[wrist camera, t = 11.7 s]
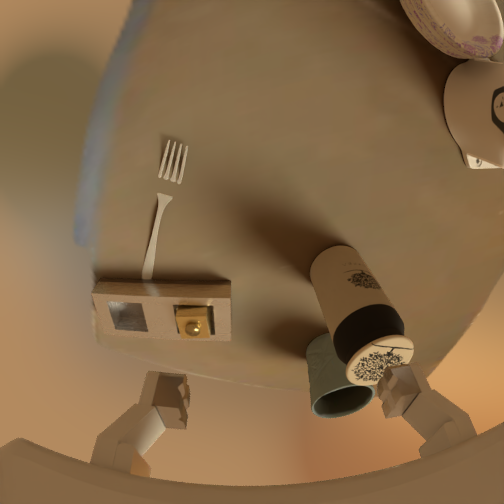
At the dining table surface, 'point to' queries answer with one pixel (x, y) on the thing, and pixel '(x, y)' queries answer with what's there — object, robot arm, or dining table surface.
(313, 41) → the dining table surface
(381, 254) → the dining table surface
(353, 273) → the travel mug
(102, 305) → the tan windowed box
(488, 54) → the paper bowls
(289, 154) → the dining table surface
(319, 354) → the green cup
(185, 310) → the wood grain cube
